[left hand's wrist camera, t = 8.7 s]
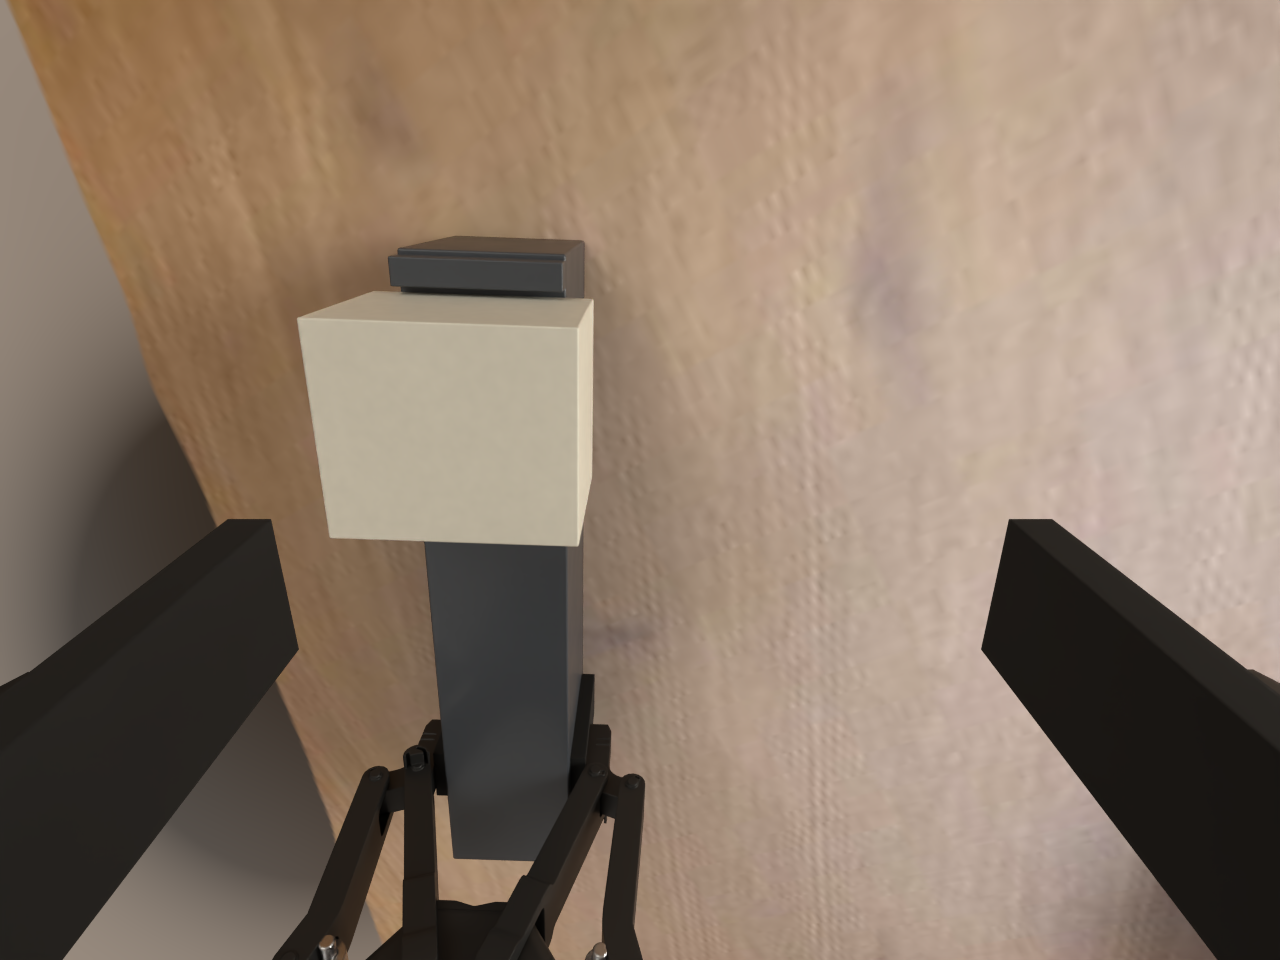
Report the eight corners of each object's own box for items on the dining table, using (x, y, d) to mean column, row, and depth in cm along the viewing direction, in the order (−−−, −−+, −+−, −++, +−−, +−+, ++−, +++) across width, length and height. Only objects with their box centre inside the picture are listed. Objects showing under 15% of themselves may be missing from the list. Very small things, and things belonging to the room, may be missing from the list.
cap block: (372, 290, 25) (295, 317, 20) (593, 298, 25) (578, 327, 20) (391, 470, 28) (328, 539, 22) (592, 477, 28) (578, 547, 22)
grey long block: (453, 235, 32) (386, 250, 24) (584, 240, 32) (562, 256, 24) (485, 746, 44) (447, 877, 35) (582, 749, 44) (567, 880, 35)
